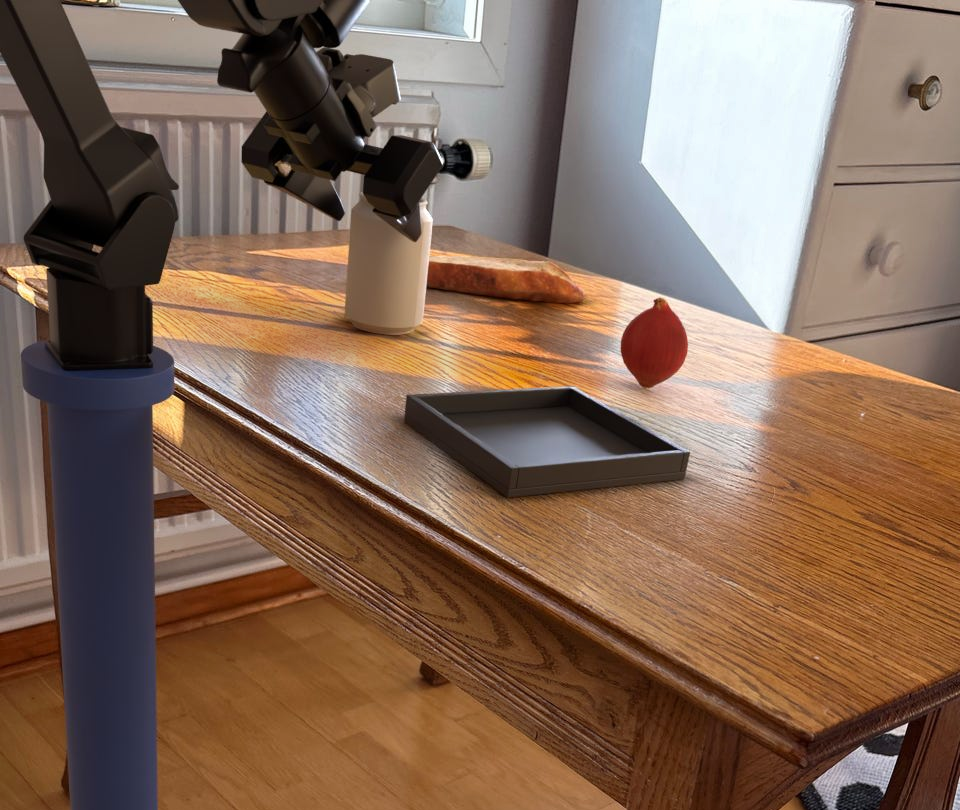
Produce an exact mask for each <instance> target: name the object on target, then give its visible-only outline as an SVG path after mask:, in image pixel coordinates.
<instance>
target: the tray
mask: <svg viewBox="0 0 960 810" xmlns="http://www.w3.org/2000/svg"><path fill="white" fill-rule="evenodd" d="M403 422H404V423H406V424H407V425H408V426H410V427H411V428H412V429H413V430H415V431H416V432H418V433H419V434H420V435H422V436H423V437H425V438H426V439H427V440H428V441H430V442H432V443H433V444H434V445H435V446H436V447H438V448H439V449H440V450H442V451H444V452H445V453H446V454H447V455H449V456H450V457H452V459H454V460H455V461H456V462H458V463H459V464H461V465H462V466H463V467H465V468H466V469H467V470H469V471H470V472H472V473H473V474H475V475H476V476H477V477H478V478H480V479H481V480H482V481H484V482H485V483H486V484H487V485H489V486H490V487H492V488H493V489H494V490H496V491H497V492H498V493H500V494H501V495H503V496H504V497H505V498H507V499H509V498H518V497H527V496H528V497H529V496H537V495H546V494H556V493H557V494H558V493H564V492H566V493H567V492H574V491H575V492H576V491H584V490H585V491H586V490H595V489H603V488H613V487H614V488H615V487H623V486H632V485H633V486H634V485H640V484H641V485H642V484H649V483H659V482H661V483H662V482H669V481H680V480H685V478H686V474H687V469H688V465H689V462H690V461H689V460H690V456H691V451H689V450H688V449H686V448H684V447H683V446H680V445H678V444H677V443H675V442H673V441H671V440H670V439H668V438H666V437H664V436H662V435H661V434H659V433H658V432H655V431H654V430H652V429H650V428H648V427H647V426H645V425H643V424H641V423H639V422H638V421H636V420H635V419H633V418H631V417H630V416H628V415H625V414H623V413H622V412H620V411H618V410H616V409H614V408H613V407H611V406H609V405H607V404H606V403H604V402H602V401H600V400H598V399H596V398H595V397H593V396H592V395H590V394H588V393H586V392H584V391H583V390H581V389H579V388H578V387H576V386H574V385H568V386H567V385H565V386H548V387H529V388H528V387H527V388H511V389H494V390H493V389H492V390H491V389H489V390H488V389H487V390H473V391H469V390H468V391H455V392H454V391H453V392H452V391H451V392H450V391H449V392H433V393H432V392H431V393H414V394H406V395H405V406H404V417H403Z"/></svg>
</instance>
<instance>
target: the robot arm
mask: <svg viewBox="0 0 960 810" xmlns="http://www.w3.org/2000/svg"><path fill="white" fill-rule="evenodd" d="M371 1H372V0H177V2H178V3H179V4H180V6H181V7H182V8H183V10H184V12H185V14H186V15H187V16H188V17H189V18H190V19H191V20H192V21H193V22H195V23H196V24H197V25H199V26H201V27H203V28H208V29H209V28H210V29H215V30H220V31H226V32H231V33H236V34H237V33H238V34H242V35H241V36H240V38H238V40H237V42H236V43H235V44H234V46H233V47H232V48H228V47H227V48H226V47H223V48H222V49H221V52H220V53H221V61H220V65H219V66H218V70H217V80H216V83H217V85H218V87H220V88H221V87H222V88H226V89H230V90H235V91H241V92H244V93H245V92H246V93H254V94H255V96H256V97H257V99H258V100H259V102H260V103H261V105H262V106H263V108H264V110H265V113H264V114H263V115H262V117H261V118H260V120H259V121H258V122H257V124H256V125H255V127H254V128H253V129H252V131H251V132H250V134H249V135H248V137H247V138H246V139H245V141H244V142H243V144H242V145H241V157H240V159H241V160H240V161H241V164H242V166H243V167H244V169H246V171H247V172H248V174H249V175H250V177H251V178H253V179H257V180H260V181H263V182H264V184H266V185H267V186H269V187H272V188H274V189H276V190H278V191H280V192H282V193H284V194H286V195H287V196H289V197H292V198H294V199H295V200H298V201H299V202H301V203H303V204H305V205H307V206H309V207H311V208H312V209H314V210H316V211H318V212H320V213H322V214H323V215H325V216H327V217H329V218H331V219H332V220H334V221H337V222H341V220H343V218H344V217H345V215H346V210H345V208H344V205H343V203H342V200H341V198H340V197H339V194H338V192H337V190H336V188H335V186H334V184H333V182H336V180H337V179H338V178H339V176H340V175H341V174H342V173H344V172H350V173H355V174H359V175H362V176H363V182H362V192H363V195H364V196H365V198H366V200H367V201H368V203H370V204H371V205H372V206H373V207H374V209H373V210H372V211H373V213H375V214H376V215H377V216H379V217H380V218H381V219H382V220H384V221H385V222H387V223H388V224H389V225H390V226H392V227H393V228H394V229H396V230H397V231H398V232H400V233H401V234H402V235H404V236H405V237H407V238H408V239H409V240H411V241H412V242H417V240H418V239H419V237H420V236H421V234H422V229H421V216H420V203H419V201H420V199H421V198H423V197H424V196H425V194H426V192H427V191H428V189H429V187H430V186H431V184H432V183H433V182H434V180H435V178H436V177H437V175H438V174H439V172H440V171H441V169H442V168H443V166H444V164H443V160H442V157H441V155H440V153H439V151H438V149H437V147H436V145H435V143H434V142H433V141H429V140H424V139H420V138H416V137H411V136H406V135H403V134H400V135H397V134H395V135H394V134H393V135H391V136H390V137H389V138H388V140H387V141H386V143H385V144H384V146H383V147H379V146H375V145H370V144H367V143H365V142H364V139H365V138H371V136H372V135H373V133H374V132H375V130H376V129H377V128H378V125H377V123H376V122H375V120H374V118H375V117H376V116H378V115H379V114H381V113H383V111H385V110H386V109H387V108H389V107H390V106H392V105H397V104H399V102H400V101H401V99H402V98H401V94H400V88H399V83H398V77H397V72H396V68H395V62H394V60H393V59H390V58H385V57H381V56H379V57H378V56H375V55H369V54H363V53H358V54H350V53H346V54H344V55H343V53H342V51H341V50H339V49H336V48H338V47H340V46H341V44H342V43H343V41H344V40H345V38H346V37H347V36H348V35H349V33H350V31H351V30H352V28H353V27H354V25H355V24H356V23H357V21H358V20H359V18H360V17H361V15H362V14H363V13H364V11H365V10H366V8H367V7H368V5H369V4H370V2H371ZM316 49H319V50H317V51H316ZM0 56H1V57H2V59H3V62H4V63H5V65H6V67H7V69H8V71H9V73H10V75H11V77H12V79H13V81H14V83H15V85H16V87H17V89H18V91H19V93H20V95H21V97H22V99H23V101H24V103H25V104H26V107H27V109H28V111H29V113H30V115H31V116H32V118H33V121H34V122H35V124H36V126H37V129H38V130H39V132H40V135H41V137H42V141H43V174H42V175H43V180H44V183H45V186H46V189H47V193H48V195H49V197H50V200H49V201H48V203H47V204H46V205H45V207H44V208H43V209H42V211H41V212H40V213H39V214H38V216H37V217H36V219H35V220H34V221H33V222H32V224H31V225H30V227H29V228H28V229H27V230H26V232H25V234H24V235H23V238H22V239H23V242H24V244H25V248H26V251H27V253H28V255H29V258H30V260H31V263H32V264H33V265H36V266H43V267H46V268H45V269H46V270H45V271H46V288H47V289H46V291H47V306H48V307H47V308H48V325H49V326H48V328H49V339H50V340H49V339H44V340H45V348H46V349H47V350H48V352H49V353H50V354H51V355H52V357H53V358H54V359H55V360H56V362H57V363H58V364H59V366H60V367H61V368H62V369H63V370H65V371H88V370H116V369H144V368H153V360H152V359H151V358H150V357H149V356H148V355H147V354H151V353H152V352H153V346H154V313H153V312H154V311H153V310H154V309H153V307H154V306H153V305H154V304H153V301H154V300H152V298H151V297H149V295H148V294H146V286H153V285H159V284H160V282H161V279H162V276H163V272H164V268H165V264H166V261H167V256H168V253H169V249H170V246H171V242H172V239H173V235H174V230H175V226H176V222H178V221H179V218H180V216H179V215H180V214H179V206H178V204H177V203H178V202H177V200H176V196H175V194H174V192H173V191H177V190H179V188H180V186H179V184H178V182H176V180H174V178H173V177H172V175H171V174H170V172H169V171H168V169H167V166H166V162H165V160H164V159H165V158H164V157H163V156H164V155H163V152H162V149H161V146H160V144H159V142H158V141H157V139H156V137H155V136H154V135H153V134H151V133H147V132H143V131H140V130H135V129H132V128H127V127H124V126H120V124H119V123H118V122H117V120H116V119H115V118H114V116H113V115H112V113H111V111H110V108H109V106H108V104H107V102H106V99H105V98H104V95H103V93H102V91H101V88H100V86H99V84H98V82H97V79H96V77H95V75H94V73H93V70H92V68H91V65H90V64H89V62H88V59H87V57H86V55H85V53H84V51H83V48H82V46H81V43H80V41H79V40H78V37H77V35H76V33H75V31H74V29H73V26H72V24H71V21H70V20H69V17H68V15H67V13H66V11H65V8H64V7H63V3H62V2H61V0H0ZM94 246H97V247H100V248H101V249H100V251H99V252H97V251H95V250H94V249H93V248H94Z"/></svg>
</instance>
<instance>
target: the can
mask: <svg viewBox="0 0 960 810" xmlns="http://www.w3.org/2000/svg"><path fill="white" fill-rule="evenodd" d="M358 195H359V197H360V200H359V201H358V202H357V203H356V204H354V206H353V207H352V208H351V210H350V222H349V223H350V226H349V241H348V252H347V255H348V256H347V268H346V269H347V270H346V285H345V298H344V299H345V300H344V316H345V317H346V318H347V319H348V320H349V321H350V322H351V323H352V326H353V327H355V328H357V329H359V330H362V331H364V332H367V333H373V334H378V335H379V334H380V335H387V336H389V335H390V336H401V335H407V334H410V333H413V332H414V330H415V329H416V328H418V327H419V326H421V325H422V324H423V323H424V314H425V306H426V305H425V304H426V295H427V294H426V293H427V287H426V285H427V275H428V265H429V256H431V255H430V254H431V244H432V234H433V233H432V232H433V224H434V219H433V217H432V216H431V214H430V213H429V211H428V210H427V208H426V207H427V205H428V204H429V202H428V200H427V199H426V198H425V197H424V198H423V197H422V198H421V199H420V201H419V203H420V216H421V229H422V234H421V236H420V237H419V239H418V240H417V242H412V241H411V240H409V239H408V238H407V237H405V236H404V235H402V234H401V233H400V232H398V231H397V230H396V229H394V228H393V227H392V226H390V225H389V224H388V223H387V222H385V221H384V220H382V219H381V218H380V217H379V216H377V215H376V214H375V213H373V211H372V210H373V209H374V207H373V206H372V205H371V204H370V203H368V201H367V200H366V198H365V196H364V195H363V191H361V192H359V194H358Z"/></svg>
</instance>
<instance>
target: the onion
mask: <svg viewBox="0 0 960 810" xmlns="http://www.w3.org/2000/svg"><path fill="white" fill-rule="evenodd" d="M688 350H689V341H688V335H687V332H686V329H685V326H684V324H683V321H682V320H681V319H680V317H679V316H678V314H677V313H676V312H675V311H673V309H672V308H671V307H670V304H669V302H668V301H667V299H665V298H664V297H660V296H659V297H657V298H654V299H653V306H652V307H650V308H647V309H645V310H643V311H642V312H640V313H639V314H637V315H636V316H635V317H634V318H633V319H632V320H631V321H630V322H629V323H628V324H627V325H626V327H625V329H624V331H623V333H622V336H621V339H620V354H621V358H622V361H623V364H624V366H625V367H626V369H627V370H628V372H629V373H630V374H631V375H632V376H633V377H634V379H635V380H636V381H637V383H638V385H639V386H640V387H641V388H644V389H647V390H648V389H651V388H653V387H655V386H657V385H659V384H662V383H664V382H665V381H667V380H668V379H671V378H672V377H673V376H674V375H676V373H678V371H679V370H680V369H681V368H682V367H683V365H684V364H685V361H686V359H687V355H688Z"/></svg>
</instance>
